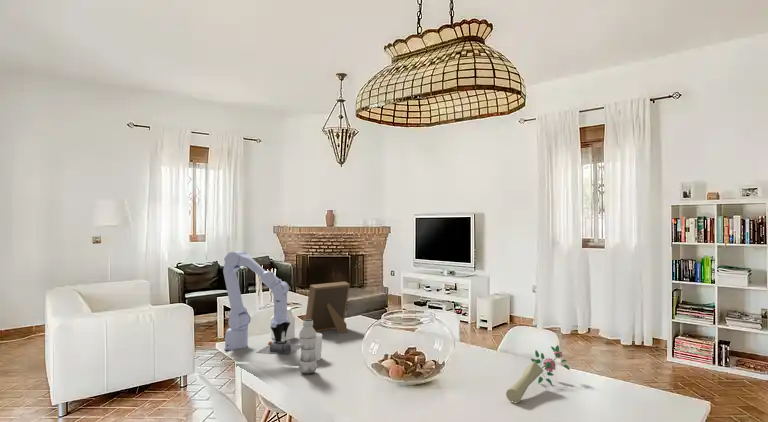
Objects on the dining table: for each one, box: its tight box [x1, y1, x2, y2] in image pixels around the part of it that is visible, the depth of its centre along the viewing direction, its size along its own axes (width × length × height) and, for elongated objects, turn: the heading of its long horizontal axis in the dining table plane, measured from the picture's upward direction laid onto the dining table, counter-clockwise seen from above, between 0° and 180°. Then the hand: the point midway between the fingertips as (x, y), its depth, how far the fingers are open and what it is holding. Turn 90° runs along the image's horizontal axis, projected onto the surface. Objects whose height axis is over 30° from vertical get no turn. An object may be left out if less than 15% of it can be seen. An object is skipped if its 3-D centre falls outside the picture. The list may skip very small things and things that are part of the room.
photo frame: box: [304, 281, 351, 334], centre depth 252 cm, size 15×22×25 cm
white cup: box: [315, 332, 323, 361], centre depth 205 cm, size 8×8×10 cm
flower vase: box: [505, 344, 571, 404], centre depth 169 cm, size 12×12×35 cm
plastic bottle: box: [298, 319, 318, 375], centre depth 186 cm, size 6×7×20 cm
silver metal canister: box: [276, 330, 285, 344], centre depth 215 cm, size 4×4×8 cm
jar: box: [270, 306, 296, 341], centre depth 237 cm, size 12×10×15 cm
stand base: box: [255, 339, 301, 356], centre depth 215 cm, size 16×16×4 cm
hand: (280, 340), depth 215 cm, fingers closed on silver metal canister, 4 cm apart
